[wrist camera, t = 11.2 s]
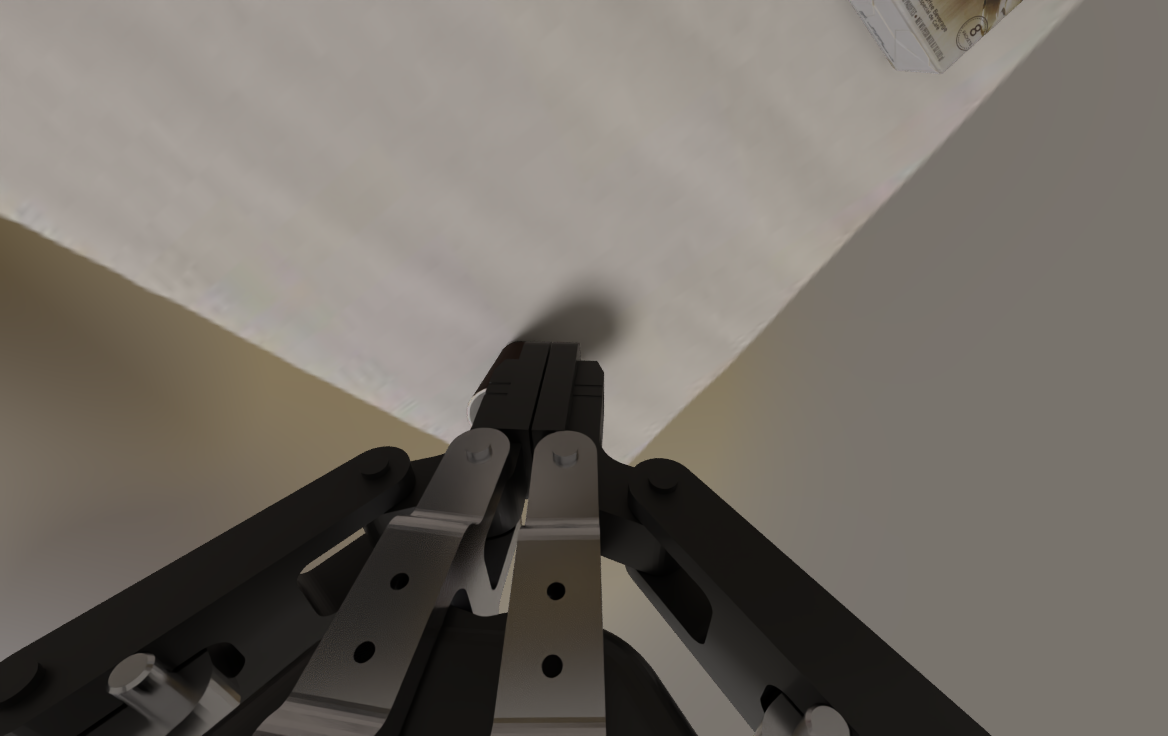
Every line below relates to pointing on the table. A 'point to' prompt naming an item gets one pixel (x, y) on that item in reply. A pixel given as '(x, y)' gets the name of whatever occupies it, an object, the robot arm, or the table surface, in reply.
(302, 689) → the robot arm
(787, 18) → the table surface
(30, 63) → the table surface
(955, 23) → the coffee box
